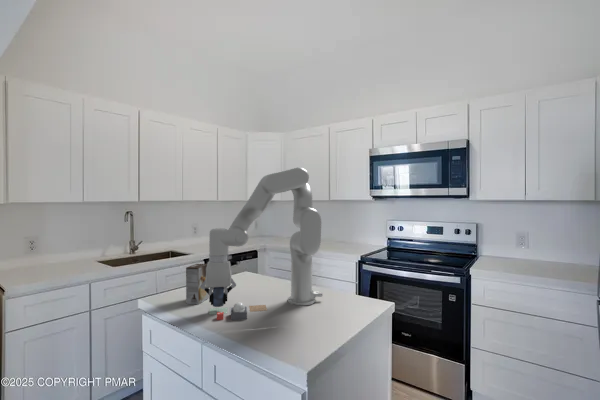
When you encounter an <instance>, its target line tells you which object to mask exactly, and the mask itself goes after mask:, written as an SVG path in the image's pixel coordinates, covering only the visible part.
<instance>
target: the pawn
mask: <svg viewBox="0 0 600 400" xmlns="http://www.w3.org/2000/svg"><path fill="white" fill-rule="evenodd" d="M212 292H213V305H212V307H213V308H222V307H223V306H224V305H225V304H224V292H225V291H224V287H215V288H213V290H212Z"/></svg>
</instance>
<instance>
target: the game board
mask: <svg viewBox="0 0 600 400" xmlns="http://www.w3.org/2000/svg"><path fill="white" fill-rule="evenodd" d="M233 307H234V306H230V307H213V308H209V313H208V315H209V316H210V315H216V321H223V320H224V318H225V317H224V314H228V309H229V314H230V321H239V320H240V321H241V320H247V319H248V307H249V312H250V313H253V312H264V311H265V312H267V311H268V307H267V305H266V304H257V305H249V306H248V305H244V307H245V312H234V313H233Z"/></svg>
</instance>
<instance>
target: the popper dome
mask: <svg viewBox="0 0 600 400" xmlns="http://www.w3.org/2000/svg"><path fill="white" fill-rule="evenodd" d="M244 306H245V305H244V303H243V302H241V301H240V302H239V301H238V302H236V303H234V305H233V306H232V307H233V313H234V312H245V307H244Z"/></svg>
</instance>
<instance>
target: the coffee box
mask: <svg viewBox="0 0 600 400" xmlns="http://www.w3.org/2000/svg"><path fill="white" fill-rule="evenodd" d="M206 268H207V263H195V264H192V265H190V266H188V267H187V266H186V268H185V286H186V287H185V288H186V289H185V301H186V302H185V303H186V304H188V305H189V304H190V305H200V304H202V303H203V302H205V301H206V300H209V294H208V293H207V292H206V291H205V290H203V289H202V288H200V286H201V285H202V283H203V282H204V280H205V279H206ZM205 286H206V284H205Z"/></svg>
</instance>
